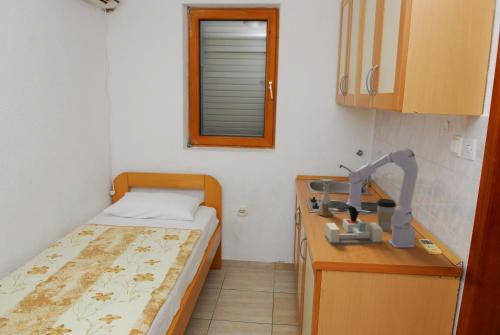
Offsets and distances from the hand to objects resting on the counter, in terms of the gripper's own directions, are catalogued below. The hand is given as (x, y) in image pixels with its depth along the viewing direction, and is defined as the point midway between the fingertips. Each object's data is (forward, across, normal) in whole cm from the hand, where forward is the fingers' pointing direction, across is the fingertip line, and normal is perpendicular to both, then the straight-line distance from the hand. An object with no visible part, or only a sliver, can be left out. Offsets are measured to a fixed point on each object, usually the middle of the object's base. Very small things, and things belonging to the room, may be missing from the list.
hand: (353, 220), depth 197 cm
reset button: (+3, 0, 0) cm, 3 cm away
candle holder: (+6, -27, -7) cm, 28 cm away
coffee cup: (+6, -2, +17) cm, 18 cm away
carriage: (+4, +12, 0) cm, 13 cm away
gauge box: (+5, 0, 0) cm, 5 cm away
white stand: (+5, +12, -4) cm, 14 cm away
